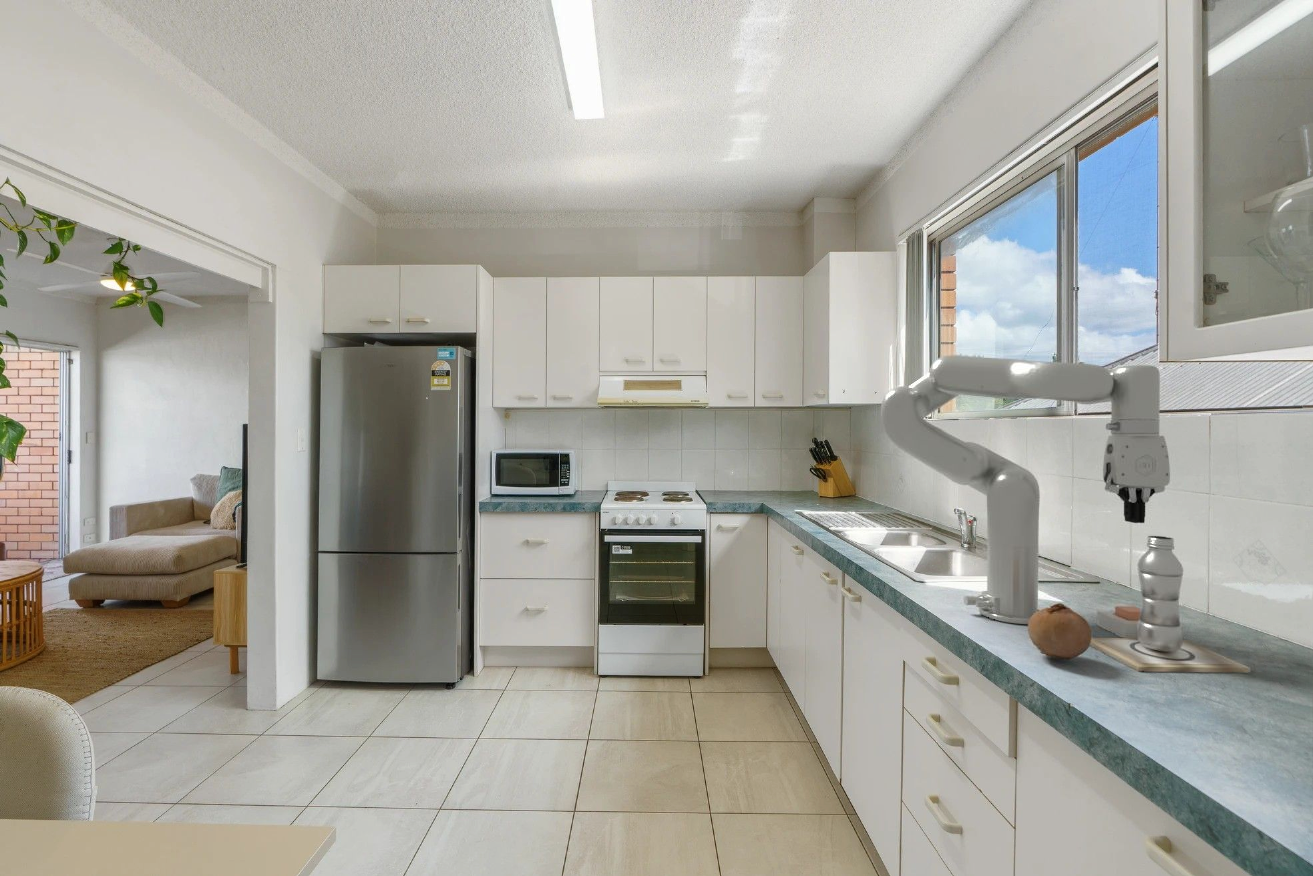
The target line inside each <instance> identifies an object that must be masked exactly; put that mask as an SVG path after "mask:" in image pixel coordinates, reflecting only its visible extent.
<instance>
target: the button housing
mask: <svg viewBox="0 0 1313 876" xmlns="http://www.w3.org/2000/svg"><path fill="white" fill-rule="evenodd" d="M1096 618H1097V620H1096V621H1097V623H1096V624H1097V625H1098V626H1097V627H1099V626H1100V627H1099V628H1101V627H1102V629H1104V630H1106V631H1108V632H1110V631H1111V632H1110V633H1112V634H1114V633H1115V634H1114V635H1117V636H1118V635H1119V637H1120V638H1137V633H1136V630H1137V624H1138V621H1128V620H1126V619H1123V618H1121V617H1119V616H1116V615H1115V610H1097V617H1096Z"/></svg>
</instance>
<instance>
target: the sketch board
mask: <svg viewBox="0 0 1313 876" xmlns="http://www.w3.org/2000/svg"><path fill="white" fill-rule="evenodd" d="M1090 645H1091V646H1090ZM1090 645H1089V646H1090V647H1092V648H1094V647H1095V650H1098V651H1099V650H1100V652H1101V651H1102V653H1103V652H1104V654H1105V653H1106V654H1105V655H1107V654H1108V655H1107V656H1109V655H1110V656H1109V657H1111V658H1112V657H1113V659H1114V658H1115V660H1116V659H1117V660H1116V661H1118V662H1120V661H1121V662H1120V663H1122V664H1124V665H1125V664H1126V665H1125V666H1127V665H1128V667H1130V668H1131V667H1132V669H1133V670H1135V671H1136V672H1142V671H1144V672H1145V671H1146V673H1147V672H1151V673H1153V672H1155V673H1157V672H1158V673H1159V672H1161V673H1162V672H1163V673H1238V674H1240V673H1242V674H1243V673H1246V674H1249V673H1251V667H1249V666H1248V665H1247V666H1246V665H1244V664H1242V663H1240V662H1238V661H1236V660H1232V659H1230V658H1228V657H1225V656H1223V655H1222V654H1219V653H1216V652H1213V651H1212V650H1209V649H1207V648H1205V647H1203V646H1200V645H1197V644H1195V643H1193V642H1191V641H1189V640H1185V639H1184V638H1183V642H1182V646H1181V648H1180V649H1179V650H1178V651H1176V652H1165V651H1158V650H1154V649H1150V648H1147V647H1145V646H1143V645H1141V643H1140V642H1139V640H1138V638H1122V637H1120V638H1119V637H1117V638H1116V637H1092V638H1091V643H1090Z"/></svg>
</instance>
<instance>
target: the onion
mask: <svg viewBox="0 0 1313 876" xmlns="http://www.w3.org/2000/svg"><path fill="white" fill-rule="evenodd" d="M1027 634H1028V636H1029V639H1030V641H1031V642H1032V644H1033V646H1035V647H1036V648H1037V650H1039V651H1040V654H1042V655H1045V656H1047V657H1050V658H1055V659H1057V658H1060V659H1059V660H1068V661H1069V660H1070V659H1073V658H1076V657H1078V656H1080V655H1082V654H1084V653H1085V652H1086V651H1087V650H1088V648H1089V647H1090V643H1091V638H1093V637H1092V630H1091V626H1090V625H1089V622H1088V621H1087V620H1086V618H1084V617H1083V616H1082V615H1081V614H1080V613H1078V612H1076V611H1074V610H1072V609H1071V608H1070V607H1068V606H1067V605H1065V604H1064V603H1061V602H1058V603H1055V604H1053V605H1050V606H1049V607H1045V608H1042V609H1039V611H1038V612H1036V613H1035V614H1033V615H1032V617H1031V618H1030V621H1029V624H1027Z"/></svg>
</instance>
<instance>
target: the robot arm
mask: <svg viewBox="0 0 1313 876" xmlns="http://www.w3.org/2000/svg"><path fill="white" fill-rule="evenodd" d="M1160 377H1161V376H1160V370H1159V369H1158V367H1157V366H1155V365H1150V364H1146V365H1145V364H1143V365H1142V364H1140V365H1139V364H1137V365H1125V366H1118V367H1117V368H1114V369H1112V368H1108V369H1107V368H1105V367H1103V366H1101V365H1096V364H1091V363H1075V362H1073V363H1072V362H1059V361H1045V360H1044V361H1043V360H1042V361H1041V360H1040V361H1039V360H1026V359H1017V358H1016V359H1013V358H1001V357H1000V358H998V357H997V358H996V357H984V356H983V357H981V356H968V355H967V356H965V355H953V354H952V355H951V354H950V355H943V356H941V357H939V358H937V359H936V360H934V361H933V362H932V363H931V366H930V368H929V372H927V373H926V374H925V375H923V376H921V377H920V378H919V379H918V380H916V381H914V382H913V383H912V384H910V385H909V386H903V385H902V386H897V387H894V388H892V389H891V390H889V391H888V392H887V393H886V394H885V396H884V397H883V399H882V401H881V406H880V419H881V424H882V427H883V430H884V431H885V434H886V435H887V437H888V438H889V439H890V441H891V442H892V443H893V444H894V445H895V446H896V447H898V448H899V449H900V450H902V451H903V452H904V453H906V454H907V455H909V456H910V457H912V458H914V459H916V460H918V461H920V462H921V463H922V464H924V465H925V466H927V467H929V468H931V469H932V470H934V471H936V472H937V473H939V474H941V475H942V476H944V477H946V478H948V480H950V481H952V482H953V483H955V484H958V485H960V486H961V485H962V486H969V487H970V488H972V489H974V490H975V491H978V492H979V493H981V494H983V495H985V496H986V511H987V512H986V514H987V515H986V517H987V518H986V521H987V522H986V523H987V528H986V529H987V530H986V532H987V533H986V534H987V537H986V538H987V540H986V541H987V549H986V550H987V557H986V558H987V559H986V560H987V563H986V565H987V566H986V567H987V570H986V577H987V579H986V590H982V591H981V594H979V595H978V596H974V595H964V596H963V603H964V605H966V606H975V607H976V608H978V612H979V614H981V615H982V616H984V617H987V618H988V617H989V619H991V620H994V619H995V621H999V622H1005V623H1010V624H1017V625H1028V624H1029V621H1030V618H1031V617H1032V615H1033V614H1035V613H1036V612H1038V611H1039V610H1040V608H1039V532H1040V531H1039V529H1040V528H1039V527H1040V526H1039V519H1040V517H1039V516H1040V498H1041V497H1040V486H1039V483H1038V480H1037V478H1036V477H1035V475H1034V474H1033V473H1032V472H1031V471H1030V470H1028V469H1027V468H1025V467H1022V466H1021V465H1019V464H1017V463H1015V462H1013V461H1012V460H1009V459H1008V458H1005V457H1004V456H1002V455H1000V454H998V453H997V452H994V451H993V450H990V449H989V448H987V447H985V446H983V445H981V444H978V443H975V442H971V441H964V440H961V439H960V438H958V437H956V436H954V435H952V434H951V433H948V432H946V431H945V430H943V429H941V428H939V427H938V426H936V425H934V424H932V423H930V422H929V421H927V420H926V419H925V418H927V417H928V416H930V415H931V414H933V413H934V412H935V411H938V409H940V408H941V407H943V406H945V405H946V404H948V403H949V402H950V401H952V400H954V399H955V398H956V397H958V396H959V395H960V396H961V395H962V396H973V397H984V398H991V399H992V398H993V399H994V398H995V399H1003V400H1004V399H1005V400H1006V399H1007V400H1019V399H1020V400H1022V399H1042V400H1054V401H1061V402H1062V401H1066V402H1075V403H1077V404H1080V405H1095V404H1101V403H1109V402H1110V403H1111V407H1110V408H1111V409H1110V411H1111V420H1110V423H1109V422H1107V423H1106V424H1105V429H1106V430H1107V431H1110V433H1111V434H1110V435H1108V437H1107V440H1106V445H1105V448H1104V454H1103V455H1104V456H1103V465H1102V476H1103V482H1104V483H1105V486H1104V490H1105V492H1108V493H1112V494H1116V495H1117V496H1118V497H1119V498H1120V500H1121V501H1122V502H1123V516H1124V521H1125V522H1129V523H1134V524H1144V523H1145V519H1146V518H1145V517H1146V504H1147V503H1148V502H1150V498H1152V496H1153V495H1154V494H1158V493H1163V492H1165V490H1166V486H1168V485H1169V484H1170V481H1171V471H1170V470H1171V467H1170V458H1169V451H1168V446H1167V441H1166V439H1165V436H1164V435H1160V410H1161V409H1160V397H1161V396H1160V395H1161V394H1160V392H1161V391H1160V390H1161V389H1160V387H1161V386H1160V383H1161V381H1160V380H1161V379H1160Z"/></svg>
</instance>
